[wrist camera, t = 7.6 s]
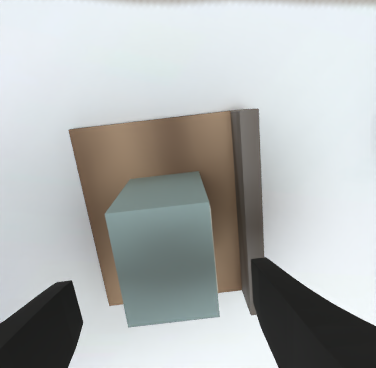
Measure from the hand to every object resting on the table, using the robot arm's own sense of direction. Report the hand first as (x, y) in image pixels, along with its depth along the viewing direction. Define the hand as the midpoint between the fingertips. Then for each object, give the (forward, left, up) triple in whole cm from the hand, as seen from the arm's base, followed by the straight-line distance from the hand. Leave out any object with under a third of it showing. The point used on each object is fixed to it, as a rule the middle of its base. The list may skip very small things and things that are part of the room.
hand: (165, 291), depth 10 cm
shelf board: (0, 0, -8) cm, 8 cm away
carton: (0, 0, -8) cm, 8 cm away
